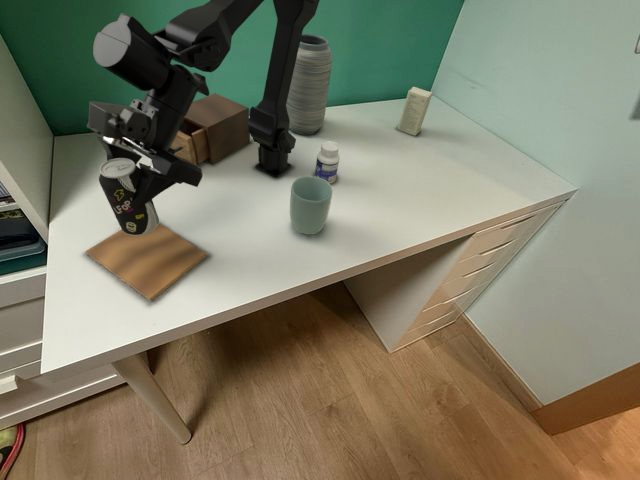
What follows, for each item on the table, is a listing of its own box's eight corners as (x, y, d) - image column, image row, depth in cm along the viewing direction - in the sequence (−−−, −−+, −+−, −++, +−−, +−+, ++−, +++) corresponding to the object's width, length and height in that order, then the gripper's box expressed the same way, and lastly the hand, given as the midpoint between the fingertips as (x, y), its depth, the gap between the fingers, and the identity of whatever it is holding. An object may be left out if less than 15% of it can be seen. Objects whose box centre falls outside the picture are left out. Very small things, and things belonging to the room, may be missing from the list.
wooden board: (207, 256, 59) (206, 253, 59) (150, 301, 52) (149, 298, 51) (146, 217, 64) (145, 214, 63) (86, 254, 56) (85, 251, 56)
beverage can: (166, 227, 55) (147, 168, 47) (134, 244, 52) (106, 184, 43) (148, 210, 58) (126, 150, 49) (115, 225, 54) (86, 164, 46)
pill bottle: (313, 170, 82) (317, 138, 75) (334, 171, 82) (340, 140, 76) (315, 183, 78) (319, 151, 72) (336, 184, 79) (343, 152, 72)
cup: (321, 243, 65) (328, 205, 58) (283, 235, 65) (286, 196, 58) (328, 218, 70) (336, 180, 63) (293, 210, 71) (297, 171, 63)
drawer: (177, 179, 72) (169, 147, 66) (146, 161, 75) (136, 130, 69) (231, 148, 82) (228, 119, 77) (202, 134, 85) (197, 105, 80)
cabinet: (212, 164, 78) (207, 127, 71) (179, 147, 82) (171, 110, 75) (250, 142, 87) (248, 107, 80) (218, 127, 90) (214, 92, 83)
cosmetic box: (419, 131, 103) (434, 92, 94) (414, 136, 100) (429, 97, 92) (401, 124, 105) (413, 85, 96) (396, 129, 102) (408, 90, 93)
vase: (275, 127, 94) (277, 37, 78) (298, 113, 101) (304, 28, 85) (309, 141, 91) (318, 51, 74) (330, 127, 98) (343, 41, 82)
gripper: (72, 53, 43) (25, 159, 45) (167, 101, 37) (110, 221, 39) (141, 95, 54) (102, 179, 55) (224, 138, 48) (178, 231, 49)
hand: (121, 200), depth 49 cm, fingers closed on beverage can, 5 cm apart
